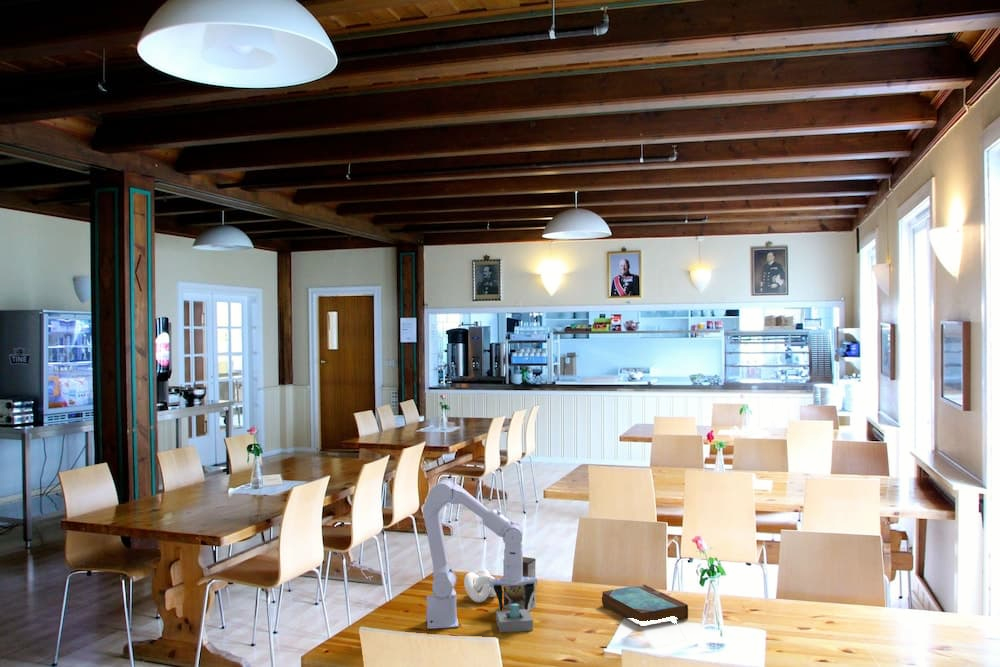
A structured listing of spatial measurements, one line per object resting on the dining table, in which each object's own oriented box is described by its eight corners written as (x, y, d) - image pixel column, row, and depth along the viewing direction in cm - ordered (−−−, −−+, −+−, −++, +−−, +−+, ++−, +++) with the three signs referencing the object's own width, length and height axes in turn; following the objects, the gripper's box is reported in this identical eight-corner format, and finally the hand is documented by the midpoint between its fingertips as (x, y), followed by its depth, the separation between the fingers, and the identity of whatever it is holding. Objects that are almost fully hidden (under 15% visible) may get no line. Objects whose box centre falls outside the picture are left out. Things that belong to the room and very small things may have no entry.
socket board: (499, 632, 234) (499, 622, 234) (496, 620, 244) (496, 610, 244) (532, 630, 236) (532, 620, 236) (527, 618, 245) (527, 609, 245)
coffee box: (502, 608, 255) (502, 559, 255) (511, 602, 261) (511, 554, 261) (528, 613, 251) (527, 562, 251) (536, 606, 256) (535, 557, 257)
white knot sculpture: (458, 595, 270) (458, 568, 270) (491, 591, 273) (491, 565, 274) (467, 605, 259) (466, 578, 259) (501, 601, 263) (501, 574, 263)
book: (688, 620, 244) (688, 604, 244) (641, 629, 236) (641, 613, 236) (645, 598, 264) (645, 584, 264) (601, 607, 257) (600, 591, 257)
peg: (510, 626, 238) (509, 606, 238) (509, 623, 241) (509, 603, 241) (519, 626, 238) (519, 606, 238) (519, 622, 241) (519, 603, 241)
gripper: (491, 569, 235) (491, 614, 235) (538, 567, 237) (539, 612, 237) (488, 562, 242) (489, 606, 242) (535, 561, 244) (535, 604, 244)
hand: (513, 609), depth 240 cm, fingers open, 7 cm apart
